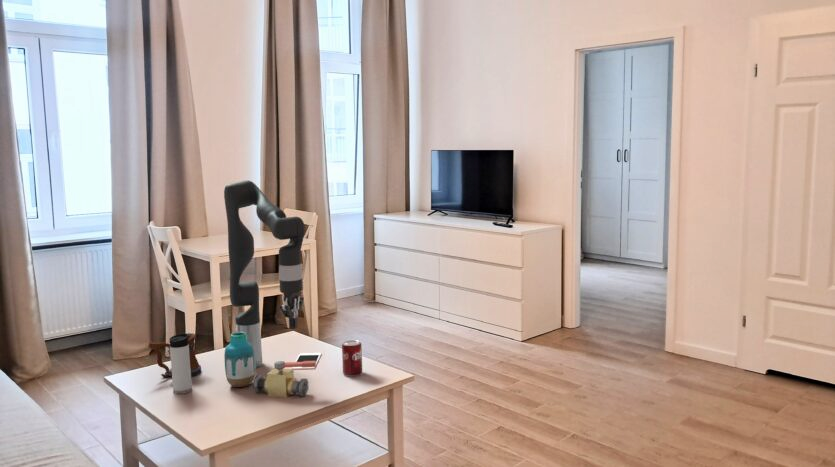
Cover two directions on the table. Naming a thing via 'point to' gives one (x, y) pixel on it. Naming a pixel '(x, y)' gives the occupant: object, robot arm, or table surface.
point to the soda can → (352, 358)
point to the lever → (294, 364)
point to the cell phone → (307, 359)
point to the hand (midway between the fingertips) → (293, 328)
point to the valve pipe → (280, 383)
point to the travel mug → (180, 363)
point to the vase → (239, 360)
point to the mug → (193, 361)
